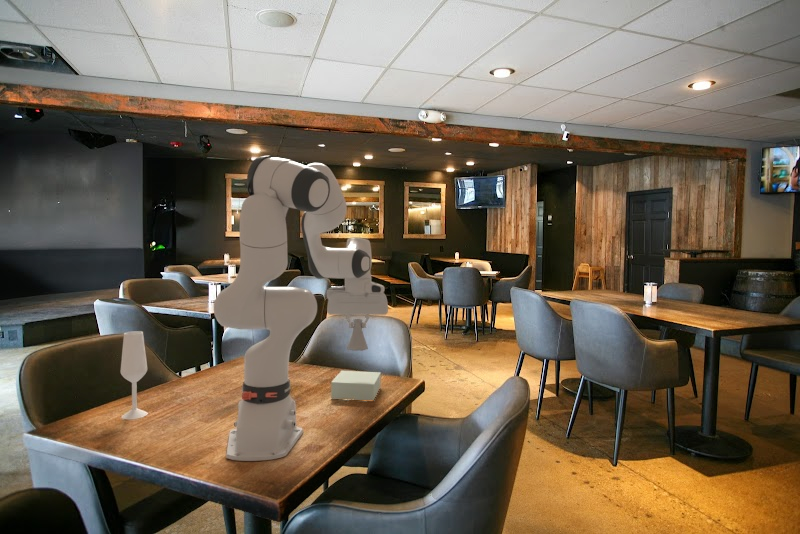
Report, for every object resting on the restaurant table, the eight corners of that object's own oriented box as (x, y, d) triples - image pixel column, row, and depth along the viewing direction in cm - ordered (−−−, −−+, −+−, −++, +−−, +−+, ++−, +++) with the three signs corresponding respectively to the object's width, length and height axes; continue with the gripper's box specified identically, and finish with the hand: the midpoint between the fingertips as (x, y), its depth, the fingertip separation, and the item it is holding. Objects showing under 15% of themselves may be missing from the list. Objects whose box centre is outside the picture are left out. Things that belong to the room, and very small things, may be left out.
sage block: (373, 402, 150) (373, 384, 149) (330, 400, 151) (331, 382, 151) (380, 389, 164) (380, 372, 163) (341, 387, 165) (341, 370, 165)
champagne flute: (153, 413, 137) (152, 331, 135) (131, 421, 131) (130, 335, 129) (137, 409, 140) (136, 329, 138) (115, 416, 133) (114, 333, 132)
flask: (370, 347, 159) (371, 318, 159) (364, 352, 152) (365, 321, 152) (350, 346, 161) (350, 317, 160) (343, 350, 154) (343, 320, 153)
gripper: (325, 287, 151) (325, 329, 152) (388, 287, 153) (388, 329, 154) (326, 285, 158) (326, 326, 158) (387, 285, 160) (386, 326, 160)
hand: (357, 327), depth 156 cm, fingers closed on flask, 3 cm apart
